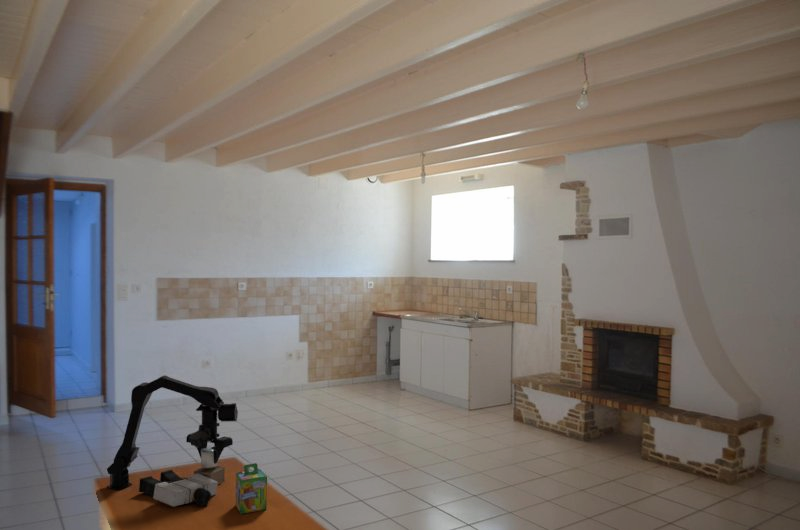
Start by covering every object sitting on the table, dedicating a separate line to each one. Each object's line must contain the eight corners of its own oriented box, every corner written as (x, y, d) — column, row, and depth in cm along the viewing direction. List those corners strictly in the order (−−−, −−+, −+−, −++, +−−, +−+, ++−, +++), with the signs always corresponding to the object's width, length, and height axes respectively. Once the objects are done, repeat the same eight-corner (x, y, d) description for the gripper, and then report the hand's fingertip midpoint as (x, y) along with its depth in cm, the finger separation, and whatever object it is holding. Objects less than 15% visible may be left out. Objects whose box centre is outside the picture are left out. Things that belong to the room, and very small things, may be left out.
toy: (131, 495, 211) (182, 516, 195) (132, 476, 212) (184, 495, 195) (177, 482, 227) (228, 501, 211) (178, 464, 228) (229, 481, 211)
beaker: (197, 466, 222) (197, 450, 222) (209, 461, 228) (209, 446, 228) (209, 469, 219) (209, 453, 219) (221, 464, 225) (221, 448, 225)
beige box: (193, 486, 221) (193, 470, 221) (207, 479, 229) (208, 464, 229) (210, 489, 218) (210, 473, 218) (224, 482, 226) (225, 466, 226)
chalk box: (240, 515, 196) (240, 471, 196) (234, 505, 204) (235, 463, 204) (267, 509, 200) (267, 466, 200) (261, 500, 208) (261, 459, 208)
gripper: (175, 423, 220) (175, 464, 220) (212, 430, 212) (212, 472, 212) (197, 417, 231) (197, 456, 230) (233, 422, 222) (233, 463, 222)
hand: (209, 462), depth 224 cm, fingers closed on beaker, 6 cm apart
